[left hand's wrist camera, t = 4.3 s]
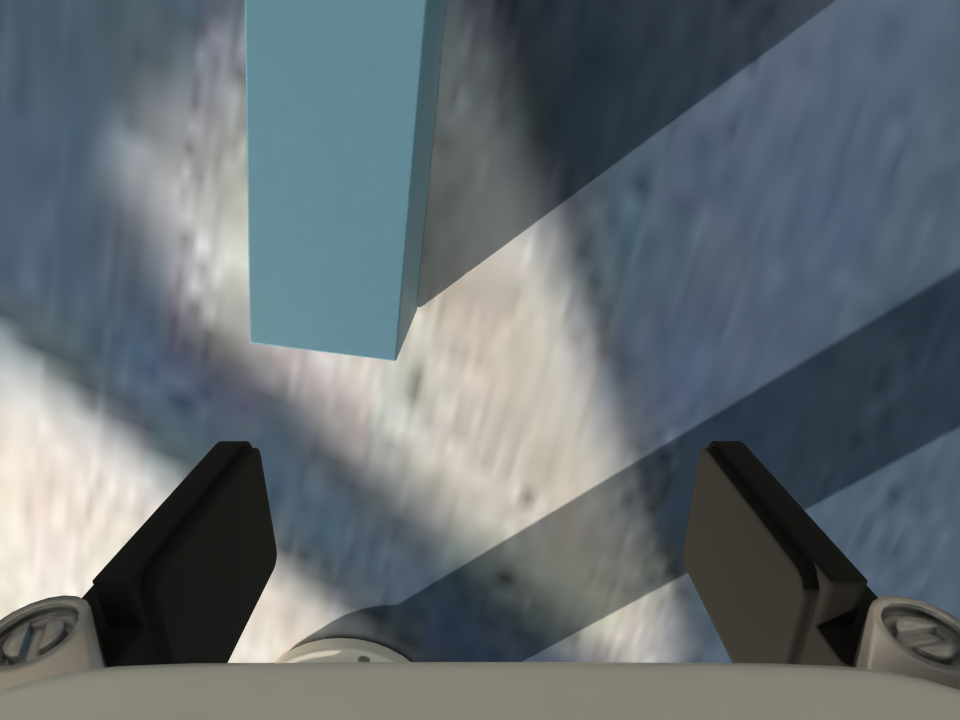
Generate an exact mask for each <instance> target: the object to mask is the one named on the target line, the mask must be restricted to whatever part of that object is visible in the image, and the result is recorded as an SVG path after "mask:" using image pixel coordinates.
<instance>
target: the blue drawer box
mask: <svg viewBox="0 0 960 720" xmlns="http://www.w3.org/2000/svg"><path fill="white" fill-rule="evenodd" d="M446 2H447V0H245V35H246V103H247V171H248V239H249V307H250V342H251V343H257V344H265V345H273V346H281V347H289V348H297V349H305V350H313V351H321V352H329V353H337V354H345V355H353V356H361V357H369V358H377V359H385V360H393V361H395V360H396V359H397V357H398V354H399V352H400V350H401V347H402V345H403V342H404V340H405V337H406V335H407V332H408V330H409V328H410V325H411V323H412V320H413V318H414V315H415V313H416V310H417V300H418V289H419V279H420V269H421V259H422V248H423V238H424V228H425V218H426V207H427V197H428V187H429V177H430V166H431V156H432V146H433V135H434V125H435V115H436V105H437V94H438V84H439V74H440V64H441V53H442V43H443V33H444V23H445V12H446Z"/></svg>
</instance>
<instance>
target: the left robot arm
mask: <svg viewBox="0 0 960 720" xmlns="http://www.w3.org/2000/svg"><path fill="white" fill-rule="evenodd" d="M276 558H277V550H276V544H275V538H274V532H273V526H272V520H271V514H270V508H269V502H268V496H267V490H266V484H265V478H264V472H263V466H262V461H261V455H260V452H259V450H258V449H257V448H252V446H251V444H250V443H249V442H248V441H221V442H218V443H217V444H216V445H215V446H214V447H213V448H212V449H211V450H210V451H209V452H208V454H207V455H206V456H205V457H204V458H203V459H202V460H201V461H200V462H199V464H198V465H197V466H196V467H195V468H194V469H193V470H192V471H191V472H190V474H189V475H188V476H187V477H186V478H185V479H184V480H183V481H182V482H181V483H180V485H179V486H178V487H177V488H176V489H175V490H174V491H173V492H172V493H171V495H170V496H169V497H168V498H167V499H166V500H165V501H164V502H163V503H162V504H161V506H160V507H159V508H158V509H157V510H156V511H155V512H154V513H153V514H152V516H151V517H150V518H149V519H148V520H147V521H146V522H145V523H144V524H143V525H142V527H141V528H140V529H139V530H138V531H137V532H136V533H135V534H134V535H133V537H132V538H131V539H130V540H129V541H128V542H127V543H126V544H125V545H124V546H123V548H122V549H121V550H120V551H119V552H118V553H117V554H116V555H115V556H114V558H113V559H112V560H111V561H110V562H109V563H108V564H107V565H106V566H105V567H104V569H103V570H102V571H101V572H100V573H99V574H98V575H97V576H96V577H95V579H94V580H93V584H94V585H93V586H92V587H91V589H90V590H89V591H88V592H87V593H86V594H85V595H84V596H83V597H82V598H79V597H77V596H58V597H51V598H47V599H44V600H40V601H37V602H34V603H31V604H29V605H27V606H25V607H22V608H20V609H18V610H16V611H14V612H12V613H11V614H9V615H7V616H6V617H4V618H3V619H1V620H0V720H960V620H959V619H957V618H956V617H954V616H953V615H951V614H949V613H948V612H946V611H944V610H942V609H940V608H938V607H935V606H933V605H931V604H929V603H926V602H923V601H920V600H916V599H913V598H909V597H902V596H883V597H881V598H878V597H877V596H876V595H875V594H874V593H873V592H872V591H871V590H870V589H869V587H868V586H867V585H866V584H867V580H866V579H865V577H864V576H863V575H862V574H861V573H860V572H859V571H858V570H857V569H856V568H855V566H854V565H853V564H852V563H851V562H850V561H849V560H848V559H847V558H846V556H845V555H844V554H843V553H842V552H841V551H840V550H839V549H838V548H837V546H836V545H835V544H834V543H833V542H832V541H831V540H830V539H829V538H828V537H827V535H826V534H825V533H824V532H823V531H822V530H821V529H820V528H819V527H818V525H817V524H816V523H815V522H814V521H813V520H812V519H811V518H810V517H809V516H808V514H807V513H806V512H805V511H804V510H803V509H802V508H801V507H800V506H799V504H798V503H797V502H796V501H795V500H794V499H793V498H792V497H791V496H790V495H789V493H788V492H787V491H786V490H785V489H784V488H783V487H782V486H781V485H780V483H779V482H778V481H777V480H776V479H775V478H774V477H773V476H772V475H771V474H770V472H769V471H768V470H767V469H766V468H765V467H764V466H763V465H762V464H761V462H760V461H759V460H758V459H757V458H756V457H755V456H754V455H753V454H752V452H751V451H750V450H749V449H748V448H747V447H746V446H745V445H744V444H743V443H742V442H739V441H712V442H711V443H710V444H709V446H708V448H703V449H702V450H701V452H700V455H699V461H698V466H697V472H696V478H695V484H694V490H693V496H692V502H691V508H690V514H689V520H688V526H687V532H686V538H685V544H684V550H683V558H684V564H685V567H686V570H687V572H688V574H689V576H690V578H691V580H692V582H693V584H694V586H695V588H696V590H697V592H698V594H699V596H700V598H701V600H702V602H703V604H704V606H705V608H706V610H707V612H708V614H709V616H710V618H711V620H712V622H713V624H714V626H715V628H716V630H717V632H718V634H719V636H720V638H721V640H722V642H723V644H724V646H725V648H726V650H727V652H728V655H729V657H730V659H731V661H732V663H618V662H410V661H409V660H407V659H406V658H405V657H404V656H402V655H400V654H399V653H397V652H395V651H393V650H391V649H390V648H387V647H385V646H382V645H379V644H376V643H374V642H369V641H364V640H360V639H350V638H331V639H322V640H317V641H313V642H309V643H306V644H303V645H301V646H298V647H296V648H294V649H292V650H290V651H289V652H287V653H286V654H284V655H283V656H281V657H280V658H279V659H278V660H277V661H276V662H275V663H228V661H229V659H230V657H231V655H232V652H233V650H234V648H235V646H236V644H237V642H238V640H239V638H240V636H241V634H242V632H243V630H244V628H245V626H246V624H247V622H248V620H249V618H250V616H251V614H252V612H253V610H254V608H255V606H256V604H257V602H258V600H259V598H260V596H261V594H262V592H263V590H264V588H265V586H266V584H267V582H268V580H269V578H270V576H271V574H272V572H273V570H274V567H275V564H276Z"/></svg>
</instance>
